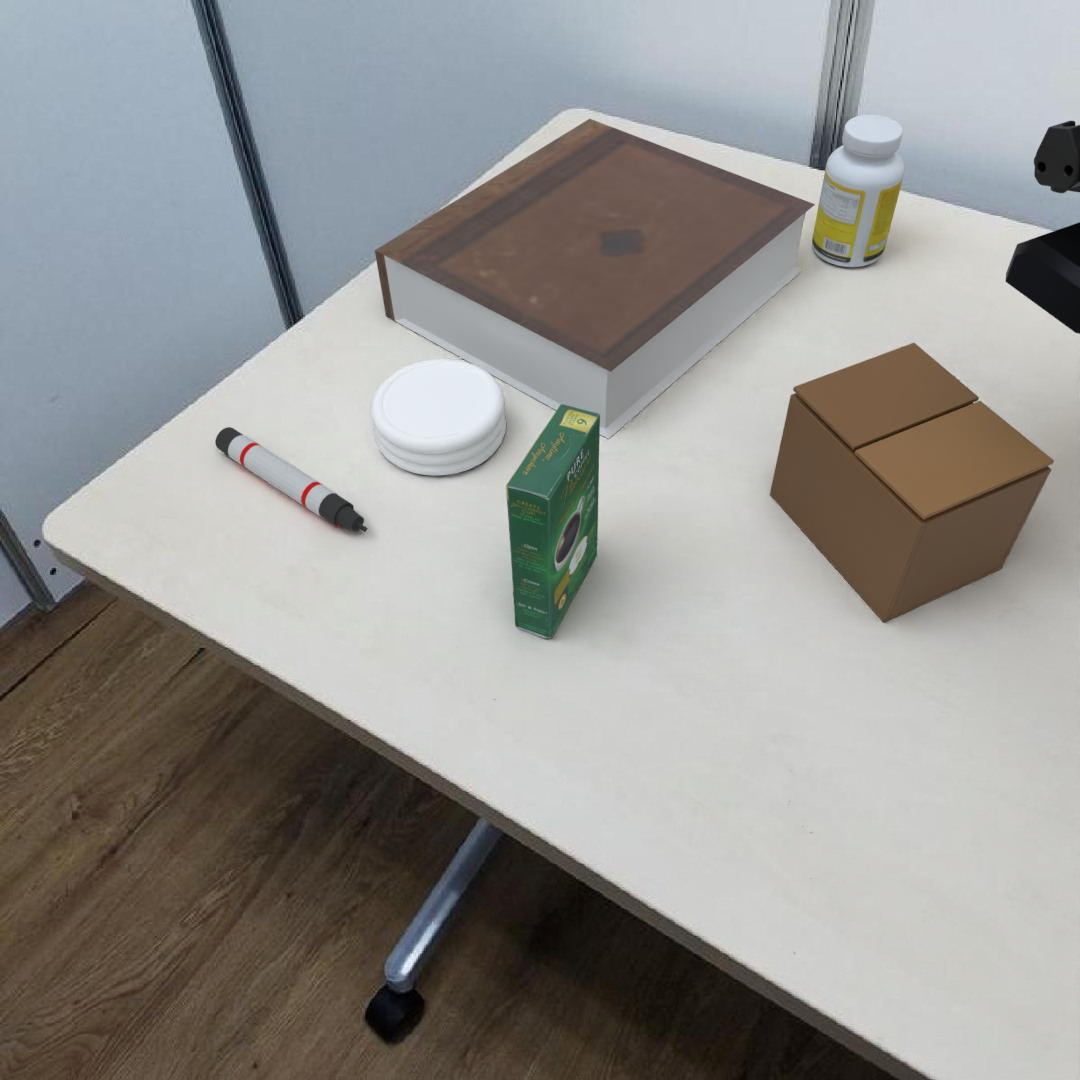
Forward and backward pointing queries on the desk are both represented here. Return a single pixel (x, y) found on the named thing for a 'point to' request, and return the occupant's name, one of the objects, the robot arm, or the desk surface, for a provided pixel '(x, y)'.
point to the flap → (953, 459)
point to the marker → (289, 479)
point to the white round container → (438, 416)
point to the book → (594, 269)
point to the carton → (870, 504)
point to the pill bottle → (859, 192)
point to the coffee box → (554, 519)
